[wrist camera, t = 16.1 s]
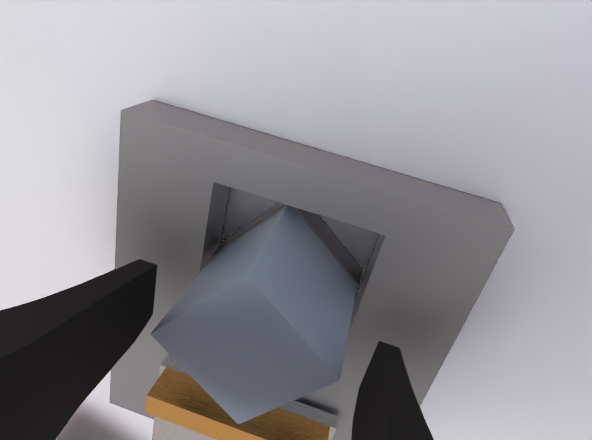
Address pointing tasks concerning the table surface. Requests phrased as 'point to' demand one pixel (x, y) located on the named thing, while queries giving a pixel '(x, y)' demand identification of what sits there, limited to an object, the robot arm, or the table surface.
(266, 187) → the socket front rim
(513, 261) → the table surface
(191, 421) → the panel
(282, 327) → the plug
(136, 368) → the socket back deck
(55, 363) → the robot arm
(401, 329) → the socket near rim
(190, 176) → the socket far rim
